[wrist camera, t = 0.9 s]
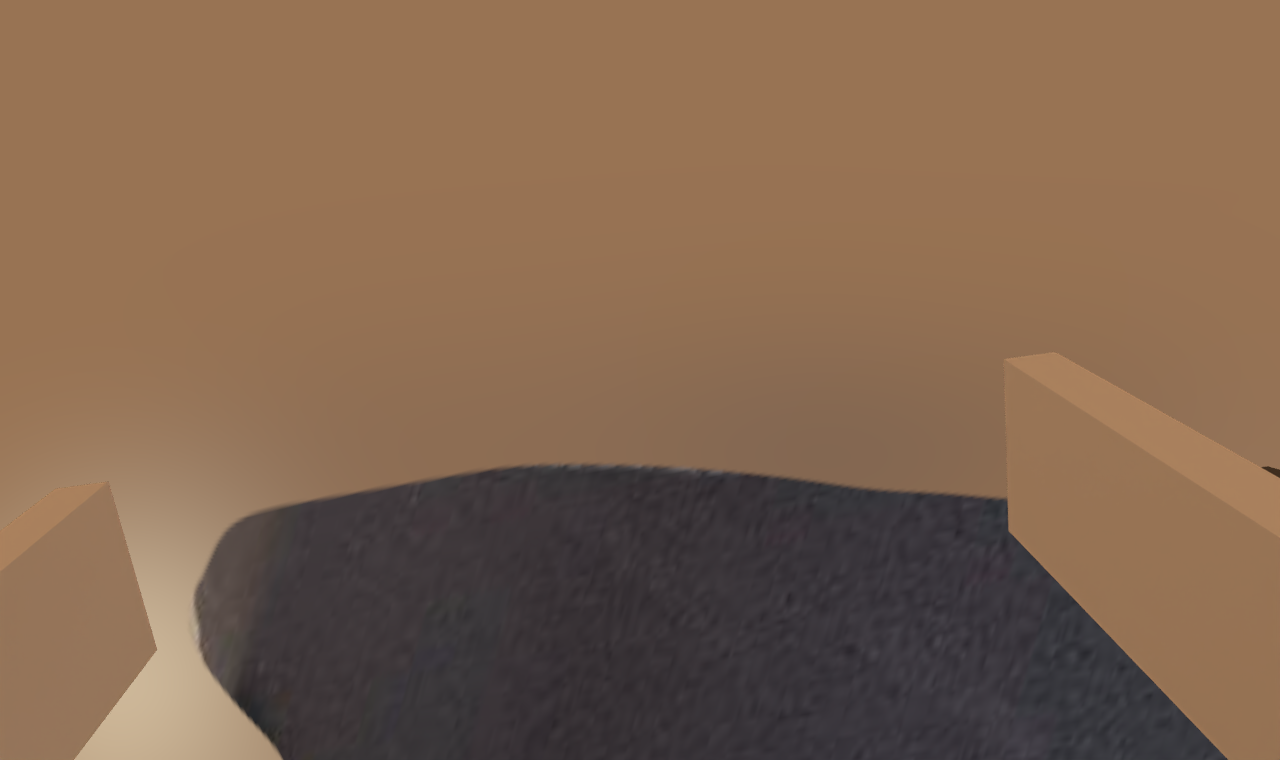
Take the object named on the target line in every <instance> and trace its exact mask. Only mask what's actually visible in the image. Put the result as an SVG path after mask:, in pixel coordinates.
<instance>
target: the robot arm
mask: <svg viewBox="0 0 1280 760" xmlns="http://www.w3.org/2000/svg"><path fill="white" fill-rule="evenodd" d="M1004 386H1005V420H1006V453H1007V454H1006V455H1007V487H1008V524H1009V532H1010V533H1011V534H1012V535H1013V536H1014V537H1015V538H1016V539H1017V540H1018V541H1019V542H1020V543H1021V544H1022V545H1023V546H1024V547H1025V548H1026V549H1027V550H1028V551H1029V552H1030V553H1031V555H1032V556H1033V557H1034V558H1035V559H1036V560H1037V561H1038V562H1039V563H1040V564H1041V565H1042V566H1043V567H1044V568H1045V569H1046V570H1047V571H1048V572H1049V573H1050V574H1051V575H1052V576H1053V577H1054V578H1055V580H1056V581H1057V582H1058V583H1059V584H1060V585H1061V586H1062V587H1063V588H1064V589H1065V590H1066V591H1067V592H1068V593H1069V594H1070V595H1071V596H1072V597H1073V598H1074V599H1075V600H1076V601H1077V602H1078V603H1079V605H1080V606H1081V607H1082V608H1083V609H1084V610H1085V611H1086V612H1087V613H1088V614H1089V615H1090V616H1091V617H1092V618H1093V619H1094V620H1095V621H1096V622H1097V623H1098V624H1099V625H1100V626H1101V627H1102V629H1103V630H1104V631H1105V632H1106V633H1107V634H1108V635H1109V636H1110V637H1111V638H1112V639H1113V640H1114V641H1115V642H1116V643H1117V644H1118V645H1119V646H1120V647H1121V648H1122V649H1123V650H1124V651H1125V652H1126V654H1127V655H1128V656H1129V657H1130V658H1131V659H1132V660H1133V661H1134V662H1135V663H1136V664H1137V665H1138V666H1139V667H1140V668H1141V669H1142V670H1143V671H1144V672H1145V673H1146V674H1147V675H1148V676H1149V677H1150V679H1151V680H1152V681H1153V682H1154V683H1155V684H1156V685H1157V686H1158V687H1159V688H1160V689H1161V690H1162V691H1163V692H1164V693H1165V694H1166V695H1167V696H1168V697H1169V698H1170V699H1171V700H1172V701H1173V703H1174V704H1175V705H1176V706H1177V707H1178V708H1179V709H1180V710H1181V711H1182V712H1183V713H1184V714H1185V715H1186V716H1187V717H1188V718H1189V719H1190V720H1191V721H1192V722H1193V723H1194V724H1195V725H1196V726H1197V728H1198V729H1199V730H1200V731H1201V732H1202V733H1203V734H1204V735H1205V736H1206V737H1207V738H1208V739H1209V740H1210V741H1211V742H1212V743H1213V744H1214V745H1215V746H1216V747H1217V748H1218V749H1219V750H1220V752H1221V753H1222V754H1223V755H1224V756H1225V757H1226V758H1227V759H1228V760H1280V470H1278V469H1275V468H1271V467H1259V466H1257V465H1255V464H1254V463H1252V462H1250V461H1248V460H1246V459H1245V458H1243V457H1241V456H1239V455H1238V454H1236V453H1234V452H1232V451H1231V450H1229V449H1227V448H1225V447H1223V446H1222V445H1220V444H1218V443H1216V442H1215V441H1213V440H1211V439H1209V438H1207V437H1206V436H1204V435H1202V434H1200V433H1198V432H1197V431H1195V430H1193V429H1191V428H1190V427H1188V426H1186V425H1184V424H1182V423H1181V422H1179V421H1177V420H1175V419H1174V418H1172V417H1170V416H1168V415H1166V414H1165V413H1163V412H1161V411H1159V410H1158V409H1155V408H1154V407H1152V406H1150V405H1149V404H1147V403H1145V402H1143V401H1141V400H1140V399H1138V398H1136V397H1134V396H1133V395H1131V394H1129V393H1127V392H1125V391H1123V390H1122V389H1120V388H1118V387H1116V386H1115V385H1113V384H1111V383H1109V382H1107V381H1106V380H1104V379H1102V378H1100V377H1099V376H1097V375H1095V374H1093V373H1092V372H1090V371H1088V370H1086V369H1084V368H1083V367H1081V366H1079V365H1077V364H1076V363H1074V362H1072V361H1070V360H1068V359H1067V358H1065V357H1063V356H1061V355H1059V354H1058V353H1056V352H1051V353H1044V354H1038V355H1030V356H1023V357H1015V358H1008V359H1004ZM156 650H157V648H156V645H155V641H154V638H153V634H152V630H151V627H150V624H149V620H148V617H147V613H146V610H145V607H144V603H143V600H142V596H141V592H140V589H139V585H138V582H137V579H136V575H135V572H134V568H133V565H132V561H131V558H130V555H129V551H128V548H127V544H126V540H125V537H124V534H123V530H122V527H121V523H120V520H119V516H118V513H117V509H116V506H115V502H114V499H113V496H112V492H111V489H110V485H109V482H101V483H95V484H87V485H80V486H72V487H65V488H57V489H55V490H53V491H52V492H51V493H49V494H48V495H47V496H45V497H44V498H43V499H41V500H40V501H39V502H37V503H36V504H35V505H33V506H32V507H31V508H30V509H28V510H27V511H26V512H25V513H23V514H22V515H20V516H19V517H18V518H16V519H15V520H14V521H13V522H11V523H10V524H9V525H7V526H6V527H5V528H3V529H2V530H1V531H0V760H74V759H75V757H76V756H77V755H78V754H79V752H80V751H81V749H82V748H83V747H84V746H85V744H86V743H87V742H88V740H89V739H90V738H91V736H92V735H93V734H94V732H95V731H96V729H97V728H98V727H99V726H100V724H101V723H102V722H103V720H104V719H105V718H106V716H107V715H108V714H109V712H110V711H111V710H112V709H113V707H114V706H115V705H116V703H117V702H118V701H119V699H120V698H121V697H122V695H123V694H124V693H125V691H126V690H127V689H128V687H129V686H130V685H131V683H132V682H133V681H134V679H135V678H136V677H137V676H138V674H139V673H140V671H141V670H142V669H143V668H144V666H145V665H146V664H147V662H148V661H149V660H150V658H151V657H152V656H153V654H154V653H155V651H156Z"/></svg>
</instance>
